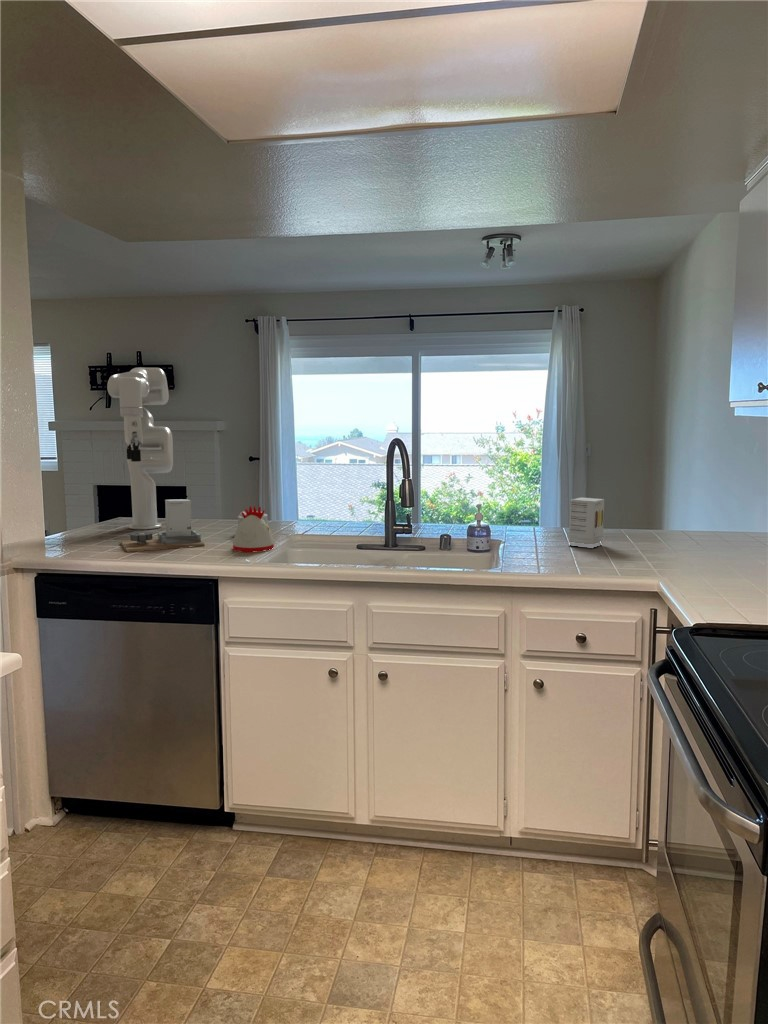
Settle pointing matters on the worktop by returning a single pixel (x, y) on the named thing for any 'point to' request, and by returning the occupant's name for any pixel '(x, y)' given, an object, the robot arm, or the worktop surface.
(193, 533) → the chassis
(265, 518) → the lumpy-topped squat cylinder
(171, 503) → the skincare box
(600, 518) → the supplement box
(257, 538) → the white red crested helmet
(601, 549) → the worktop surface
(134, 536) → the wheel
